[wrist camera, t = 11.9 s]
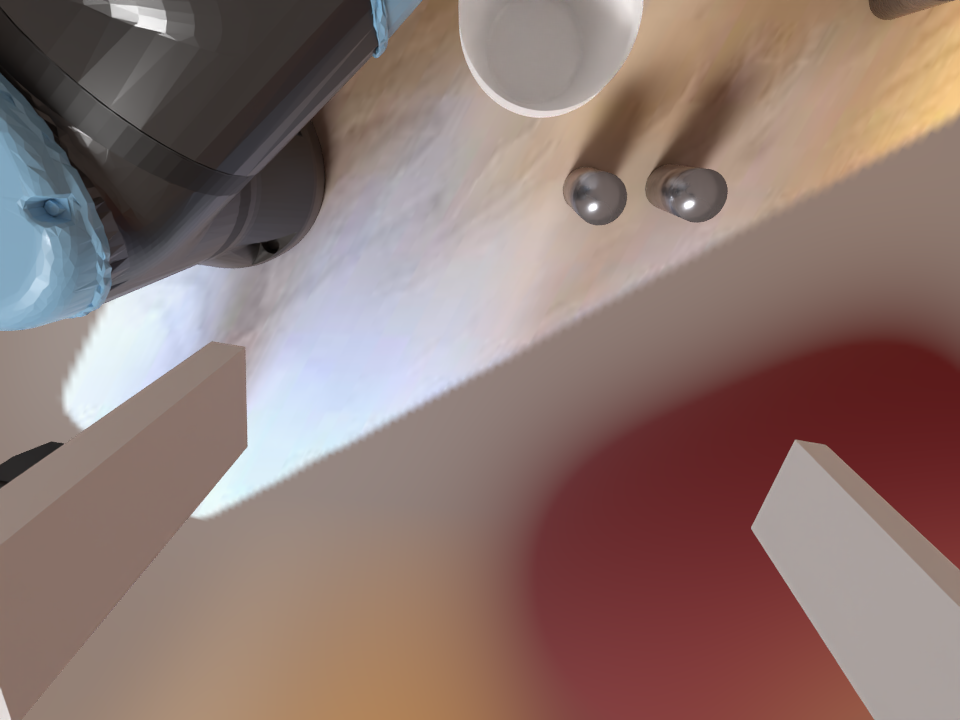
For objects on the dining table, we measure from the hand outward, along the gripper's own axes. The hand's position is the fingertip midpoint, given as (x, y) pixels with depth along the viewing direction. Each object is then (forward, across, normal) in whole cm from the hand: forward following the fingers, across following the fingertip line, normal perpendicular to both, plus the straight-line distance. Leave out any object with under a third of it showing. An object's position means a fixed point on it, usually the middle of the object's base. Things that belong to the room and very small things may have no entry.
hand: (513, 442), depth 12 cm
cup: (+30, 0, +12) cm, 33 cm away
